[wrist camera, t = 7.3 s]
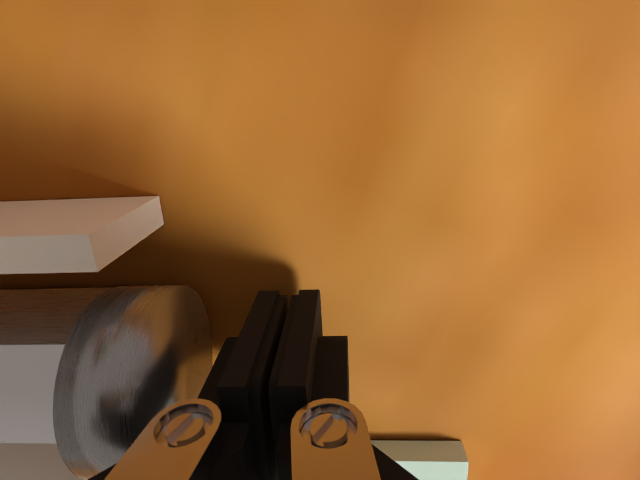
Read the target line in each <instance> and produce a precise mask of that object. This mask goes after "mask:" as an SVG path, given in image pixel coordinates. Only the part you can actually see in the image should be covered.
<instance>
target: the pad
mask: <svg viewBox="0 0 640 480" xmlns="http://www.w3.org/2000/svg"><path fill="white" fill-rule="evenodd" d="M371 444H373V445H374V446H375V447H377V448H378V449H379V450H381V451H382V452H383V453H385V454H386V455H387V456H389V457H390V458H391V459H393V460H394V461H395V462H396V463H398V464H399V465H400V466H402V467H403V468H404V469H406V470H407V471H408V472H410V473H411V474H412V475H414V476H415V477H416V478H417V479H419V480H467V474H468V464H469V462H468V459H467V456H466V453H465V450H464V447H463V444H462V441H399V440H371Z"/></svg>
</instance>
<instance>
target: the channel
mask: <svg viewBox="0 0 640 480" xmlns="http://www.w3.org/2000/svg"><path fill="white" fill-rule="evenodd" d="M162 225H164V221H163V215H162V210H161V205H160V199H159V196H142V197H115V198H88V199H61V200H34V201H7V202H0V274H30V273H73V272H98V271H100V270H101V269H103V268H104V267H105V266H107V265H108V264H110V263H111V262H112V261H114V260H115V259H117V258H118V257H119V256H121V255H122V254H123V253H125V252H126V251H128V250H129V249H130V248H132V247H133V246H135V245H136V244H137V243H139V242H140V241H142V240H143V239H144V238H146V237H147V236H149V235H150V234H151V233H153V232H154V231H155V230H157V229H158V228H160V227H161V226H162ZM0 480H82V479H80V478H78V477H77V476H75V475H74V474H73V473H72V472H71V471H70V470H69V469H68V468H67V466H66V465H65V463H64V462H63V460H62V458H61V455H60V453H59V451H58V447H57V444H48V443H0Z"/></svg>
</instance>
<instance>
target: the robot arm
mask: <svg viewBox="0 0 640 480" xmlns="http://www.w3.org/2000/svg"><path fill="white" fill-rule="evenodd" d="M88 480H419V479H417V478H416V477H415V476H414V475H412V474H411V473H410V472H408V471H407V470H406V469H404V468H403V467H402V466H400V465H399V464H398V463H396V462H395V461H394V460H393V459H391V458H390V457H389V456H387V455H386V454H385V453H383V452H382V451H381V450H379V449H378V448H377V447H375V446H374V445H373V444H371V440H370V436H369V432H368V428H367V425H366V421H365V419H364V417H363V414H362V412H361V411H360V410H359V409H358V408H357V407H356V406H355V405H353V404H351V403H349V366H348V339H347V336H322V318H321V301H320V291H319V290H299V294H298V295H292V297H291V300H290V304H289V308H288V298H287V295H283V296H281V294H280V291H279V290H277V291H259V292H258V294H257V296H256V299H255V301H254V303H253V305H252V308H251V310H250V312H249V314H248V317H247V319H246V321H245V324H244V326H243V328H242V330H241V333H240V335H239V337H229V338H227V339H226V341H225V342H224V344H223V346H222V348H221V350H220V352H219V354H218V357H217V359H216V361H215V363H214V365H213V367H212V369H211V371H210V373H209V375H208V377H207V379H206V381H205V383H204V385H203V387H202V389H201V391H200V394H199V396H198V398H197V399H187V400H182V401H179V402H176V403H174V404H172V405H169V406H168V407H166V408H165V409H163V410H162V411H160V412H159V413H158V414H157V415H156V416H155V417H154V418H153V419H152V420H151V421H150V422H149V423H148V425H147V426H146V427H145V429H144V430H143V431H142V432H141V434H140V435H139V436H138V437H137V439H136V440H135V441H134V442H133V444H132V445H131V446H130V448H129V449H128V450H127V451H126V453H125V454H124V455H123V456H122V458H121V459H120V460H119V461H118V463H116V464H114V465H112V466H111V467H109V468H107V469H105V470H104V471H102V472H100V473H98V474H97V475H95V476H93V477H91V478H89V479H88Z"/></svg>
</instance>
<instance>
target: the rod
mask: <svg viewBox="0 0 640 480" xmlns="http://www.w3.org/2000/svg"><path fill="white" fill-rule="evenodd" d="M211 369H212V339H211V331H210V324H209V319H208V316H207V312H206V309H205V306H204V304H203V302H202V299H201V298H200V296H199V295H198V293H197V292H196V291H195V290H194V289H193V288H191V287H190V286H187V285H163V286H118V287H113V288H65V289H15V290H0V443H48V444H57V447H58V451H59V453H60V455H61V458H62V460H63V462H64V463H65V465H66V466H67V468H68V469H69V470H70V471H71V472H72V473H73V474H74V475H75V476H77V477H78V478H80V479H82V480H88V479H89V478H91V477H93V476H95V475H97V474H98V473H100V472H102V471H104V470H105V469H107V468H109V467H111V466H112V465H114V464H116V463H118V461H119V460H120V459H121V458H122V456H123V455H124V454H125V453H126V451H127V450H128V449H129V448H130V446H131V445H132V444H133V442H134V441H135V440H136V439H137V437H138V436H139V435H140V434H141V432H142V431H143V430H144V429H145V427H146V426H147V425H148V423H149V422H150V421H151V420H152V419H153V418H154V417H155V416H156V415H157V414H158V413H159V412H160V411H162V410H163V409H165V408H166V407H168V406H169V405H172V404H174V403H176V402H179V401H182V400H187V399H197V398H198V396H199V394H200V391H201V389H202V387H203V385H204V383H205V381H206V379H207V377H208V375H209V373H210V371H211Z"/></svg>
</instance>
